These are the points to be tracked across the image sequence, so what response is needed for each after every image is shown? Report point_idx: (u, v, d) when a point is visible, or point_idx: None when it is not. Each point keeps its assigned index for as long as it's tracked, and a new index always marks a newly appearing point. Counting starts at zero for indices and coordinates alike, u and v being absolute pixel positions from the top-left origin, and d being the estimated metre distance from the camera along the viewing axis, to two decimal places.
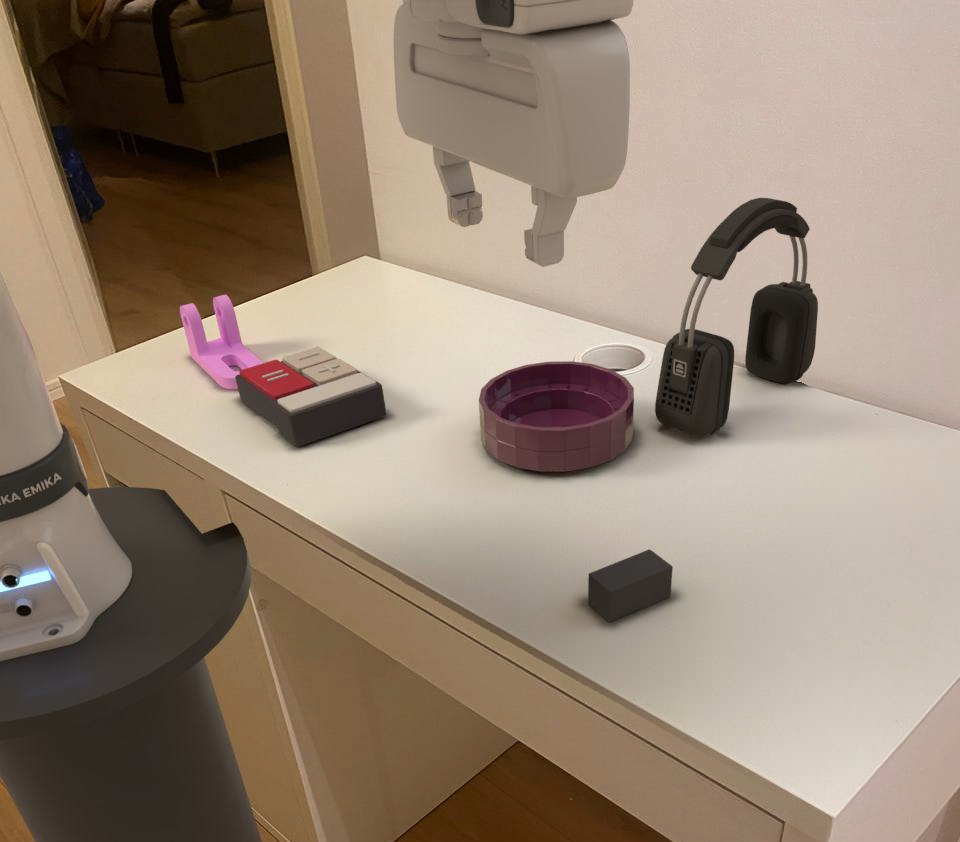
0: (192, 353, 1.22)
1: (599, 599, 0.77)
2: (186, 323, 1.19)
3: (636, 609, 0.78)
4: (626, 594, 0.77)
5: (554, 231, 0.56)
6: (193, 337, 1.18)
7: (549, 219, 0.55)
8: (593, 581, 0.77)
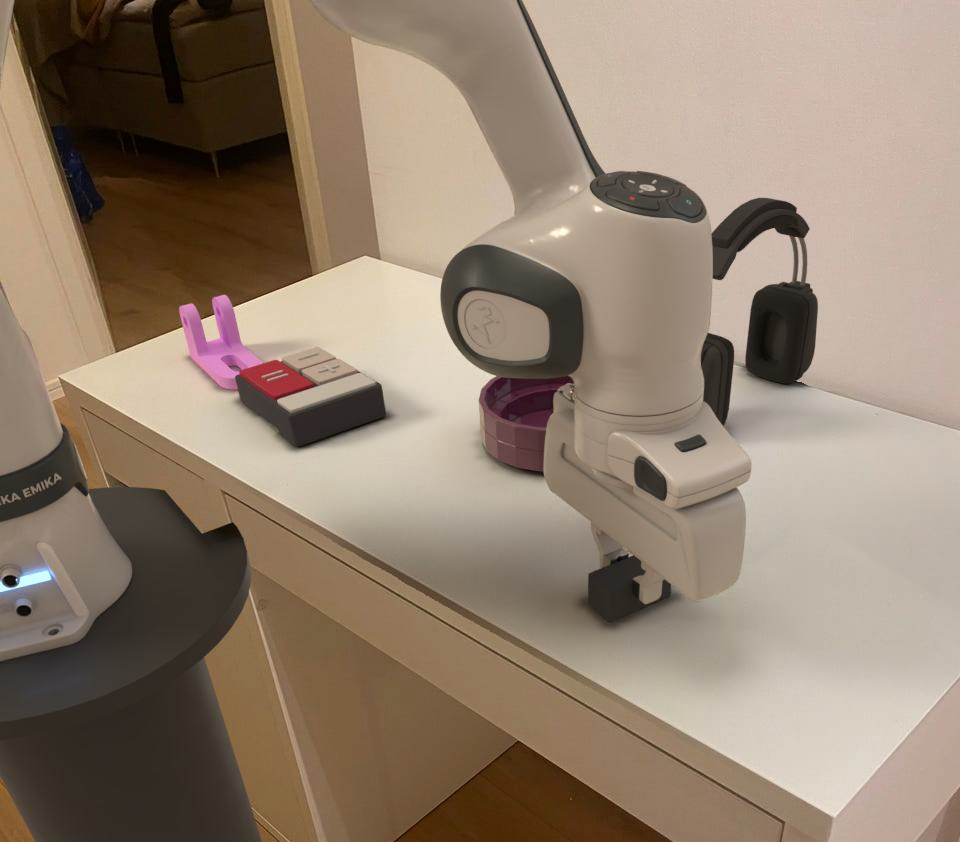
0: (191, 353, 1.22)
1: (599, 598, 0.77)
2: (185, 323, 1.19)
3: (636, 609, 0.78)
4: (626, 594, 0.77)
5: (656, 582, 0.75)
6: (193, 337, 1.18)
7: (653, 579, 0.74)
8: (593, 581, 0.77)
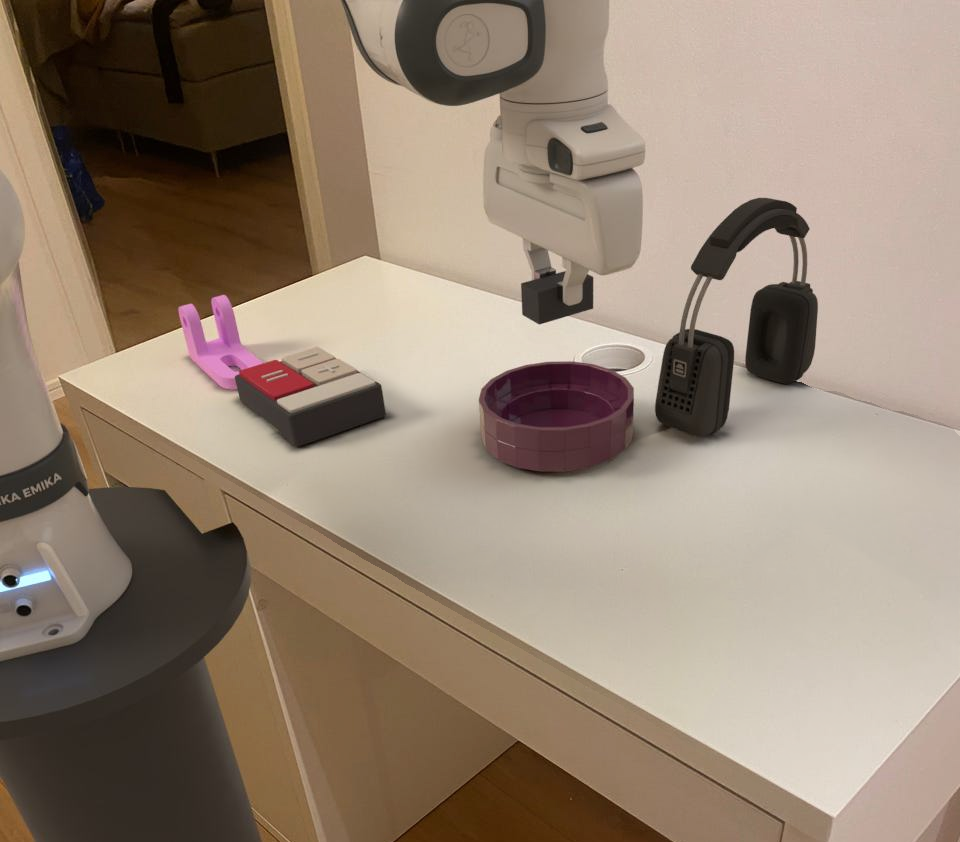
0: (191, 353, 1.22)
1: (530, 304, 0.90)
2: (185, 323, 1.19)
3: (562, 315, 0.91)
4: (552, 297, 0.89)
5: (576, 283, 0.88)
6: (192, 337, 1.18)
7: (573, 276, 0.87)
8: (525, 289, 0.90)
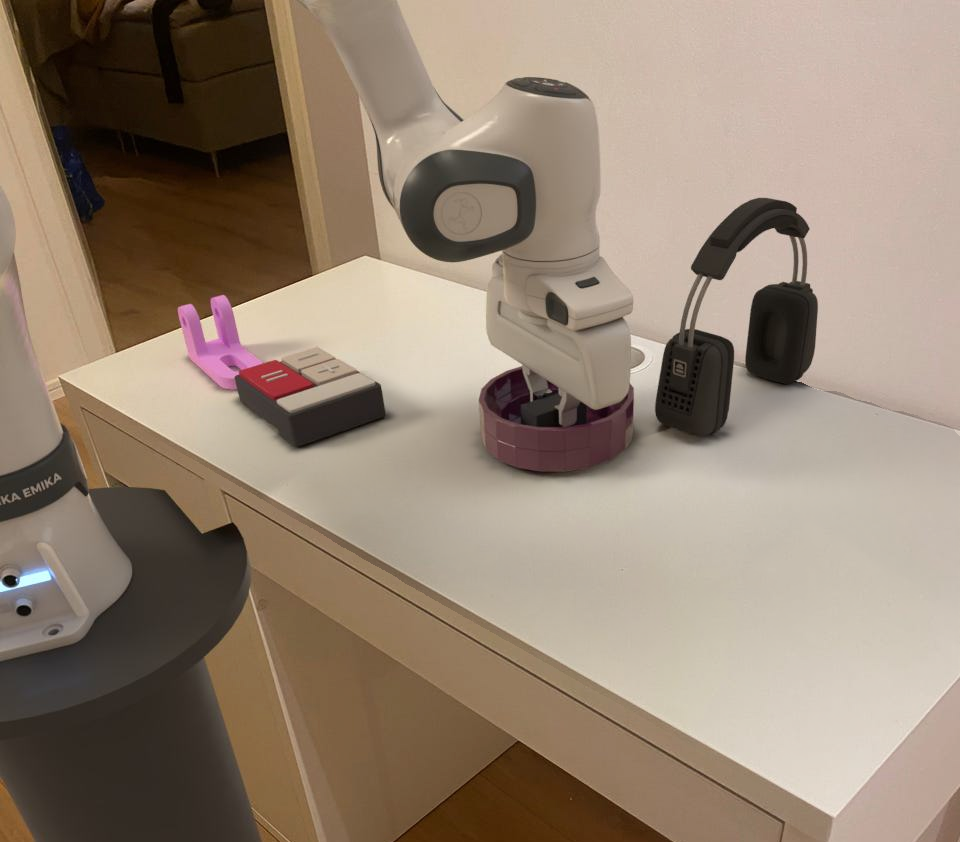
0: (190, 354, 1.22)
1: (529, 424, 0.99)
2: (184, 324, 1.19)
3: None
4: (550, 419, 0.98)
5: (571, 408, 0.97)
6: (192, 338, 1.18)
7: (568, 403, 0.95)
8: (524, 410, 0.99)
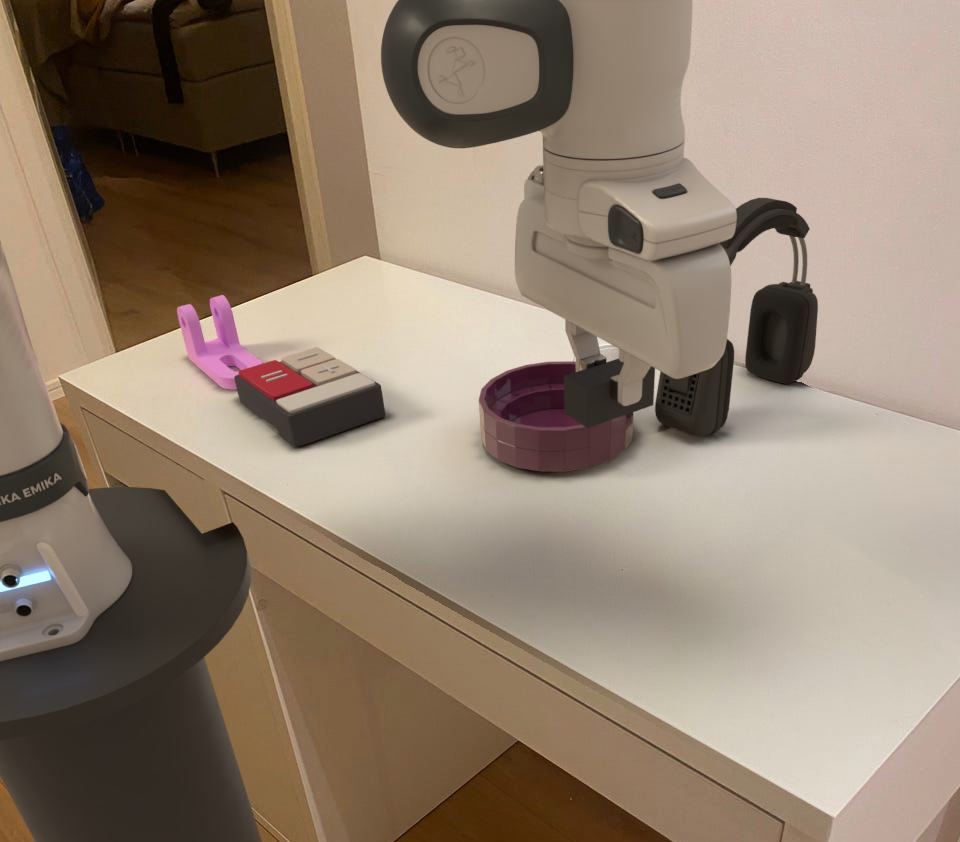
0: (189, 354, 1.22)
1: (575, 403, 0.72)
2: (183, 324, 1.19)
3: (616, 415, 0.72)
4: (605, 395, 0.71)
5: (635, 379, 0.69)
6: (191, 338, 1.18)
7: (632, 372, 0.68)
8: (569, 383, 0.71)
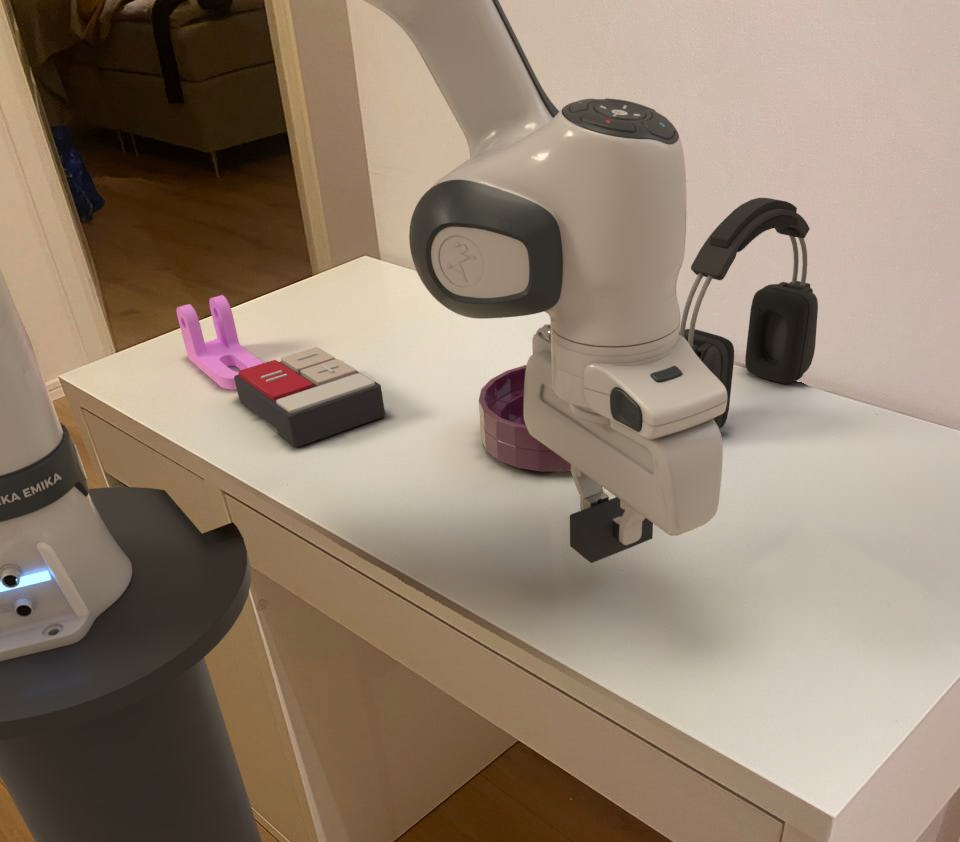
0: (189, 354, 1.21)
1: (580, 540, 0.77)
2: (183, 324, 1.19)
3: (618, 550, 0.78)
4: (607, 534, 0.77)
5: (635, 523, 0.75)
6: (191, 338, 1.18)
7: (633, 518, 0.74)
8: (574, 522, 0.77)
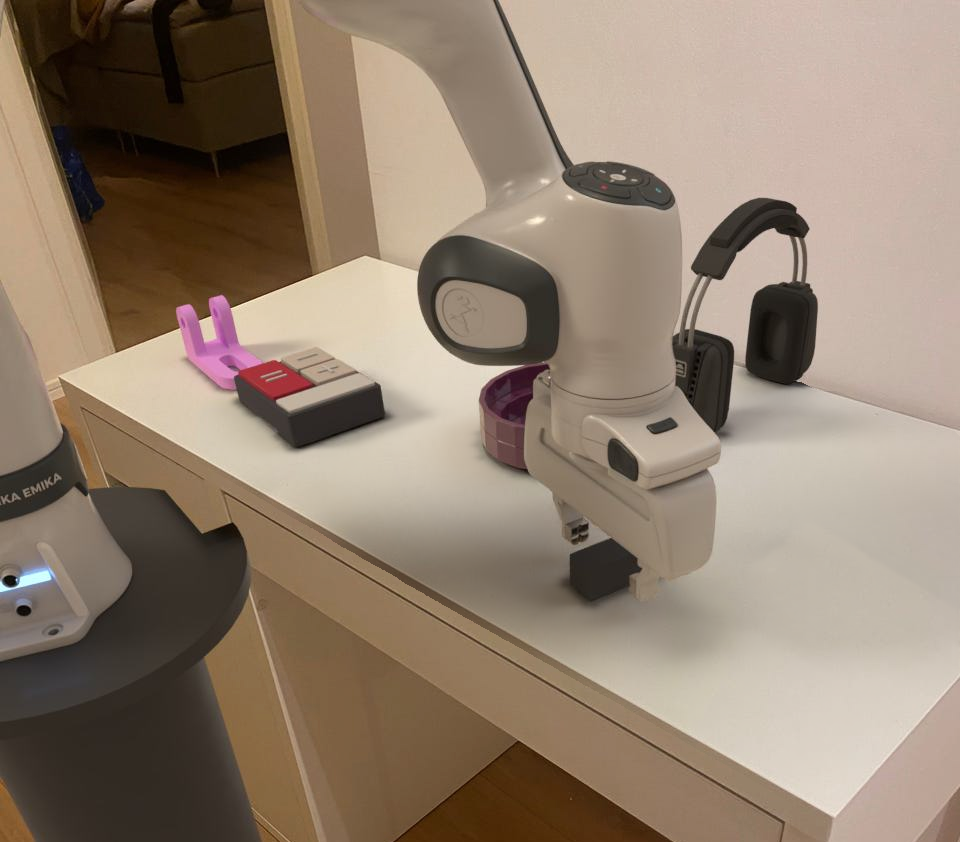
0: (189, 354, 1.21)
1: (580, 578, 0.80)
2: (183, 324, 1.19)
3: (616, 588, 0.80)
4: (606, 574, 0.79)
5: (652, 580, 0.75)
6: (190, 338, 1.18)
7: (650, 576, 0.74)
8: (574, 561, 0.80)
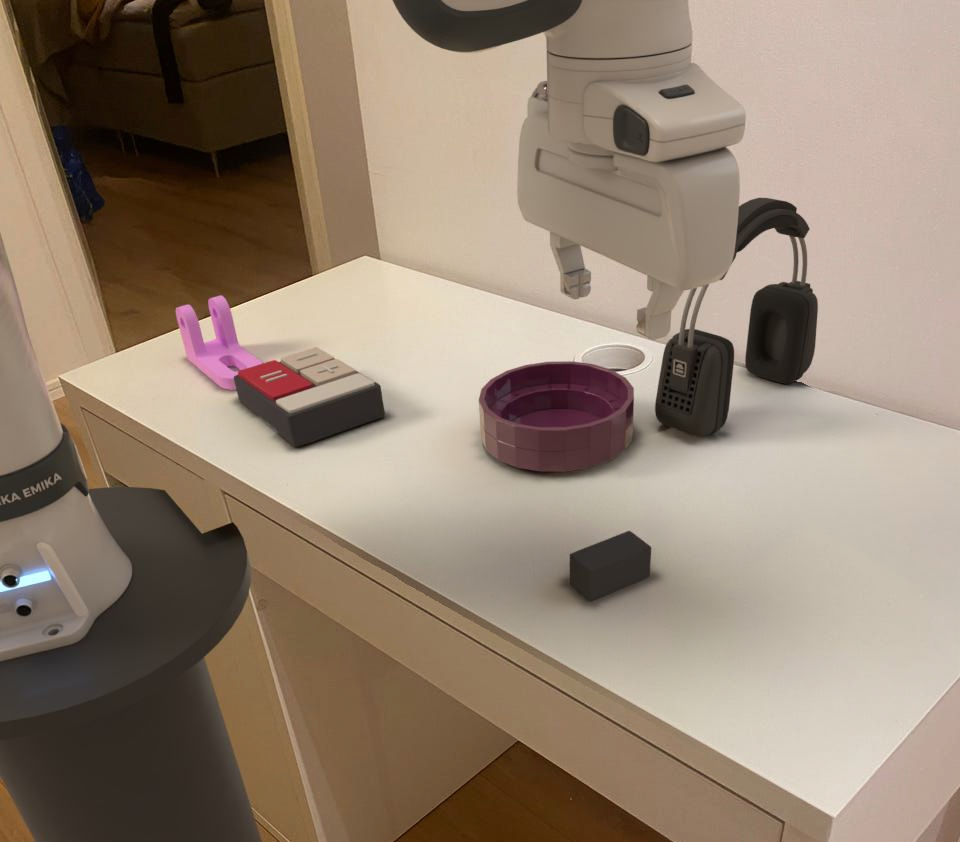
0: (188, 355, 1.21)
1: (580, 578, 0.80)
2: (182, 324, 1.19)
3: (616, 588, 0.80)
4: (606, 573, 0.79)
5: (664, 311, 0.66)
6: (190, 338, 1.18)
7: (661, 302, 0.65)
8: (574, 561, 0.80)
